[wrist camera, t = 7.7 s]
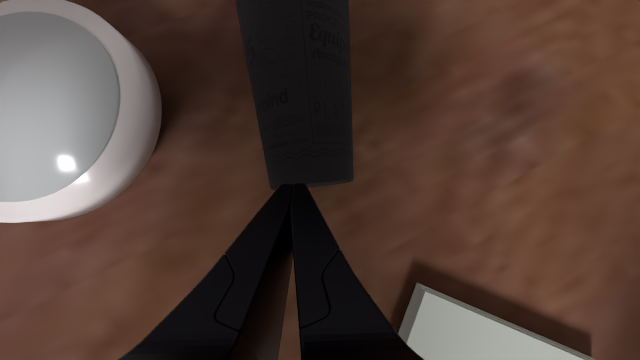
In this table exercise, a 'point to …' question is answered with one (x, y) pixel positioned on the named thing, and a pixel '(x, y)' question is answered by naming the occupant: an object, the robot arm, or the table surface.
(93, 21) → the bowl
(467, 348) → the napkin
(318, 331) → the robot arm
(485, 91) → the table surface
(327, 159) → the drinking cup
